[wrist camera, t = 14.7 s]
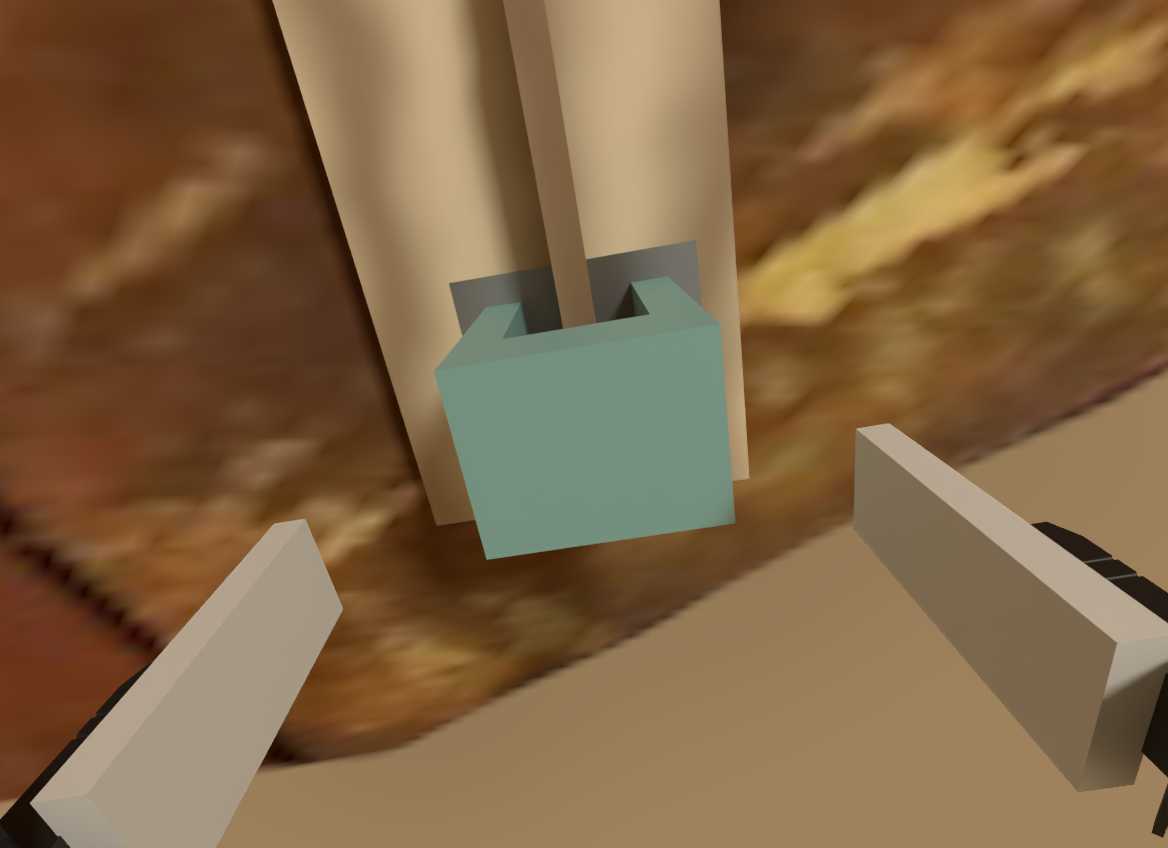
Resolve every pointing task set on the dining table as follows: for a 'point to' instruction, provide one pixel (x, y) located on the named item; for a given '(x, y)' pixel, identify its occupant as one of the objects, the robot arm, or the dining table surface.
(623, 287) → the board
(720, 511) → the bracket
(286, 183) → the dining table surface
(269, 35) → the dining table surface
